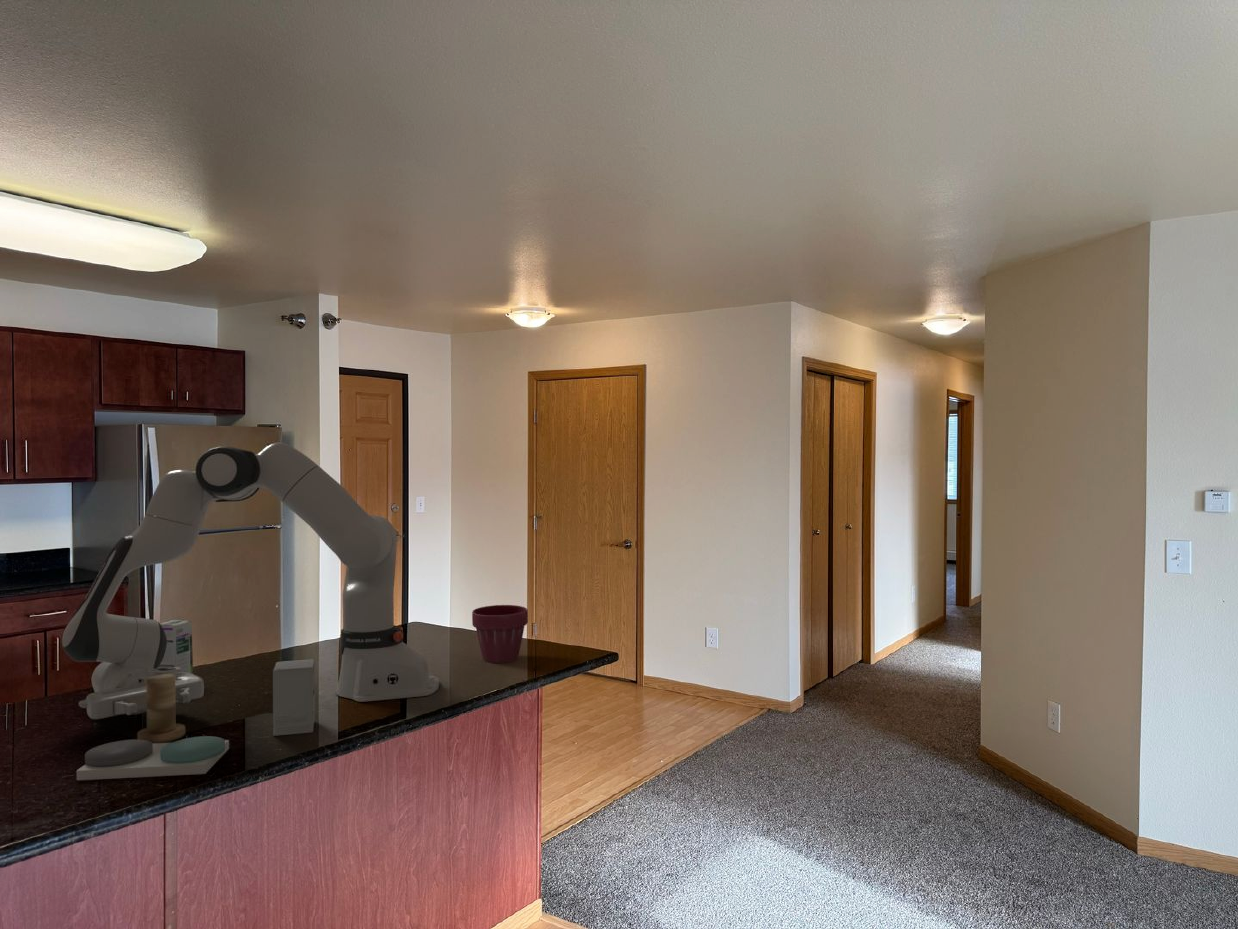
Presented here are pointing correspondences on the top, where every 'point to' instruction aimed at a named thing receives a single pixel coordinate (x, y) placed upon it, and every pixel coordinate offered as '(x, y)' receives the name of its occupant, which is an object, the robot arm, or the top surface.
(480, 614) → the plant pot
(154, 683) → the brown cylinder round base
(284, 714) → the supplement box
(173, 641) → the syrup box
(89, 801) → the top surface
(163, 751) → the double oval pad board
